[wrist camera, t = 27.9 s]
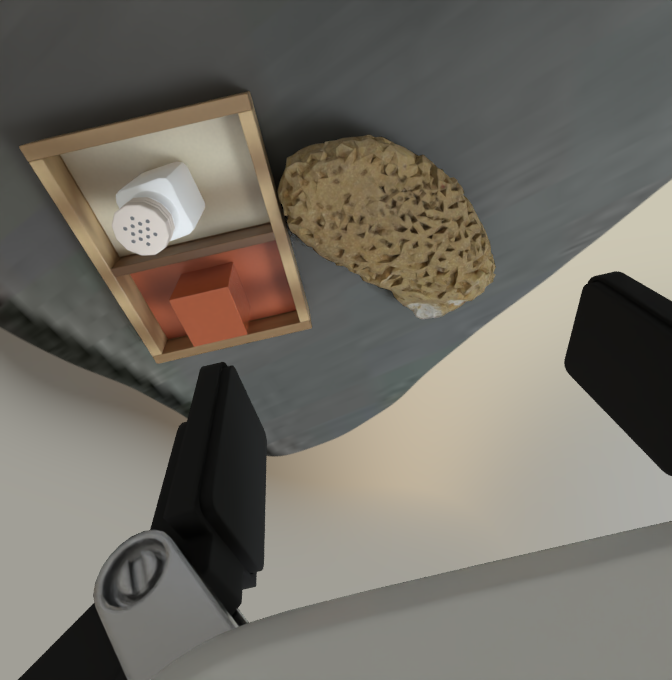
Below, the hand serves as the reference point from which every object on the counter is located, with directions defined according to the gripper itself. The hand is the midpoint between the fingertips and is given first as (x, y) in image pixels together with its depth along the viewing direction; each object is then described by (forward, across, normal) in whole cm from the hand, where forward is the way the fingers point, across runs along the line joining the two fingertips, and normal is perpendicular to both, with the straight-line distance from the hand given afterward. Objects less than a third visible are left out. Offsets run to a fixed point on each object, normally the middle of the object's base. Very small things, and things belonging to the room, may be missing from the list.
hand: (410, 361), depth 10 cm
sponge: (+26, -5, +6) cm, 28 cm away
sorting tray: (+26, +12, +4) cm, 29 cm away
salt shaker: (+26, +12, -1) cm, 28 cm away
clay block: (+26, +12, +9) cm, 30 cm away
